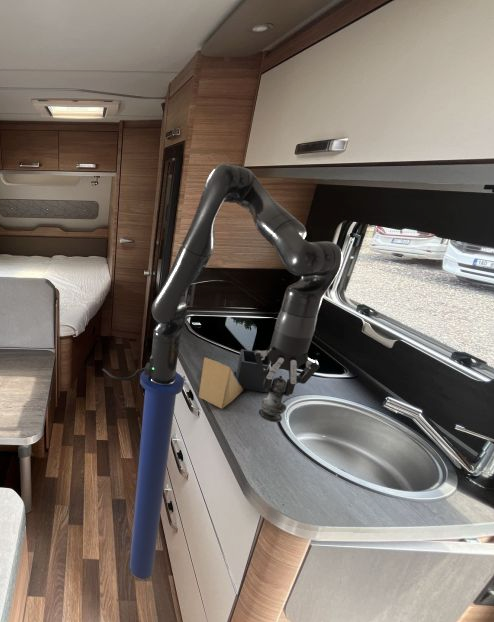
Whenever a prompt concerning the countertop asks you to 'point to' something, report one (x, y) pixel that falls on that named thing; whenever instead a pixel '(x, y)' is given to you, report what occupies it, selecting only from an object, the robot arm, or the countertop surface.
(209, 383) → the sandwich container
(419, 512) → the countertop surface
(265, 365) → the trash bin
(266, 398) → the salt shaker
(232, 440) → the countertop surface
